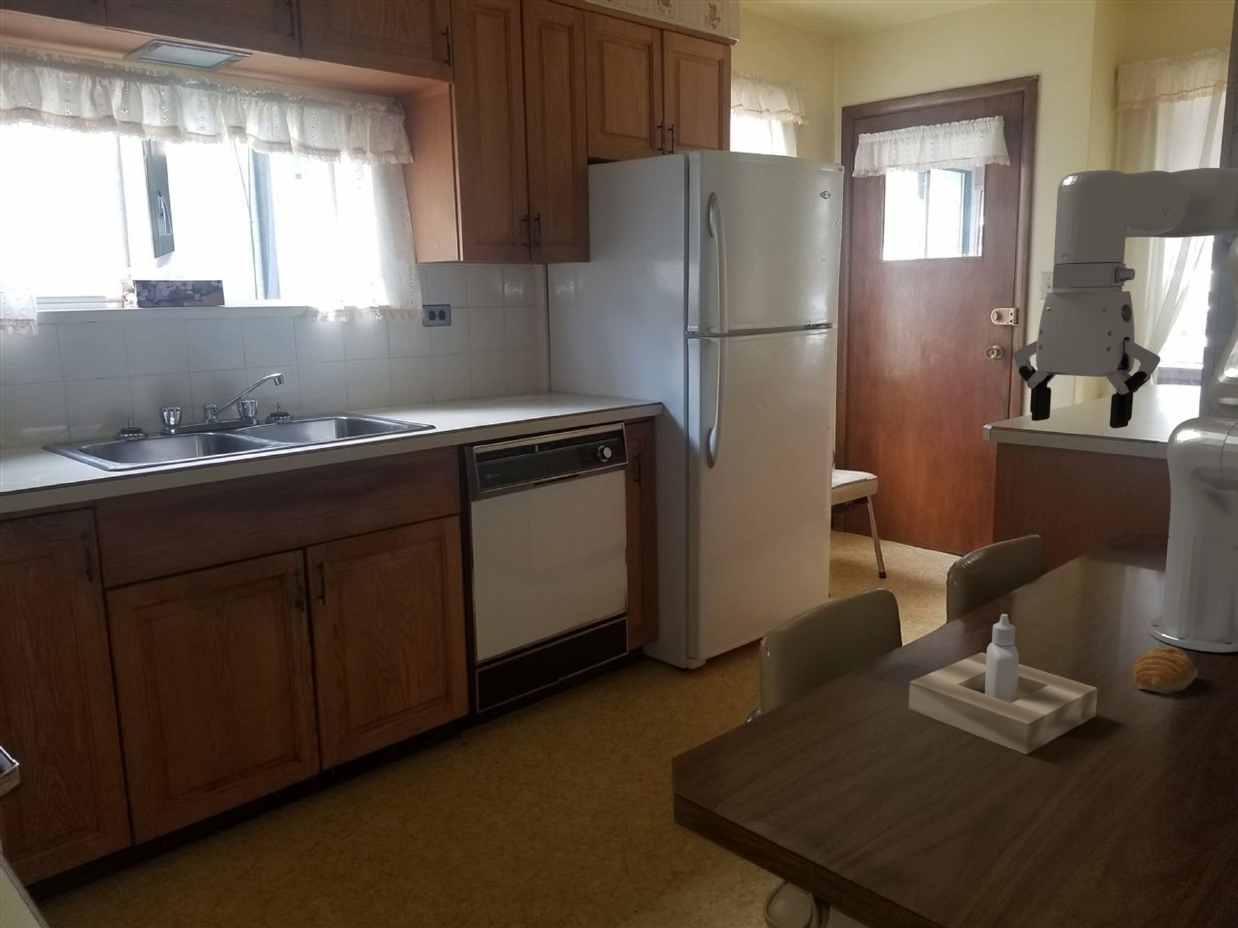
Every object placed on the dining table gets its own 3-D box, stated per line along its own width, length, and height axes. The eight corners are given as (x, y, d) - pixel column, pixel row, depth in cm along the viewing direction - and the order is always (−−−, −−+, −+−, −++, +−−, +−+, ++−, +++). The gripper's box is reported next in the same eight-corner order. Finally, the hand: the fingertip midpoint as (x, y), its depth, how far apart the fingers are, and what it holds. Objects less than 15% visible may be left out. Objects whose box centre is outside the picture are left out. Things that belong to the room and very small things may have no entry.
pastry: (1180, 703, 116) (1183, 673, 115) (1120, 689, 120) (1121, 660, 120) (1198, 679, 123) (1200, 651, 122) (1140, 667, 127) (1142, 640, 126)
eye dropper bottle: (1027, 708, 114) (1032, 612, 112) (1009, 724, 110) (1014, 625, 108) (990, 699, 117) (995, 605, 115) (972, 714, 113) (976, 617, 111)
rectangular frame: (980, 677, 124) (981, 652, 123) (1095, 716, 112) (1097, 687, 112) (908, 709, 115) (909, 681, 114) (1026, 754, 103) (1027, 723, 103)
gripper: (1179, 277, 109) (1167, 427, 112) (1035, 282, 122) (1028, 414, 125) (1148, 278, 104) (1137, 433, 107) (1002, 282, 118) (995, 420, 121)
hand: (1078, 423), depth 116 cm, fingers open, 9 cm apart
